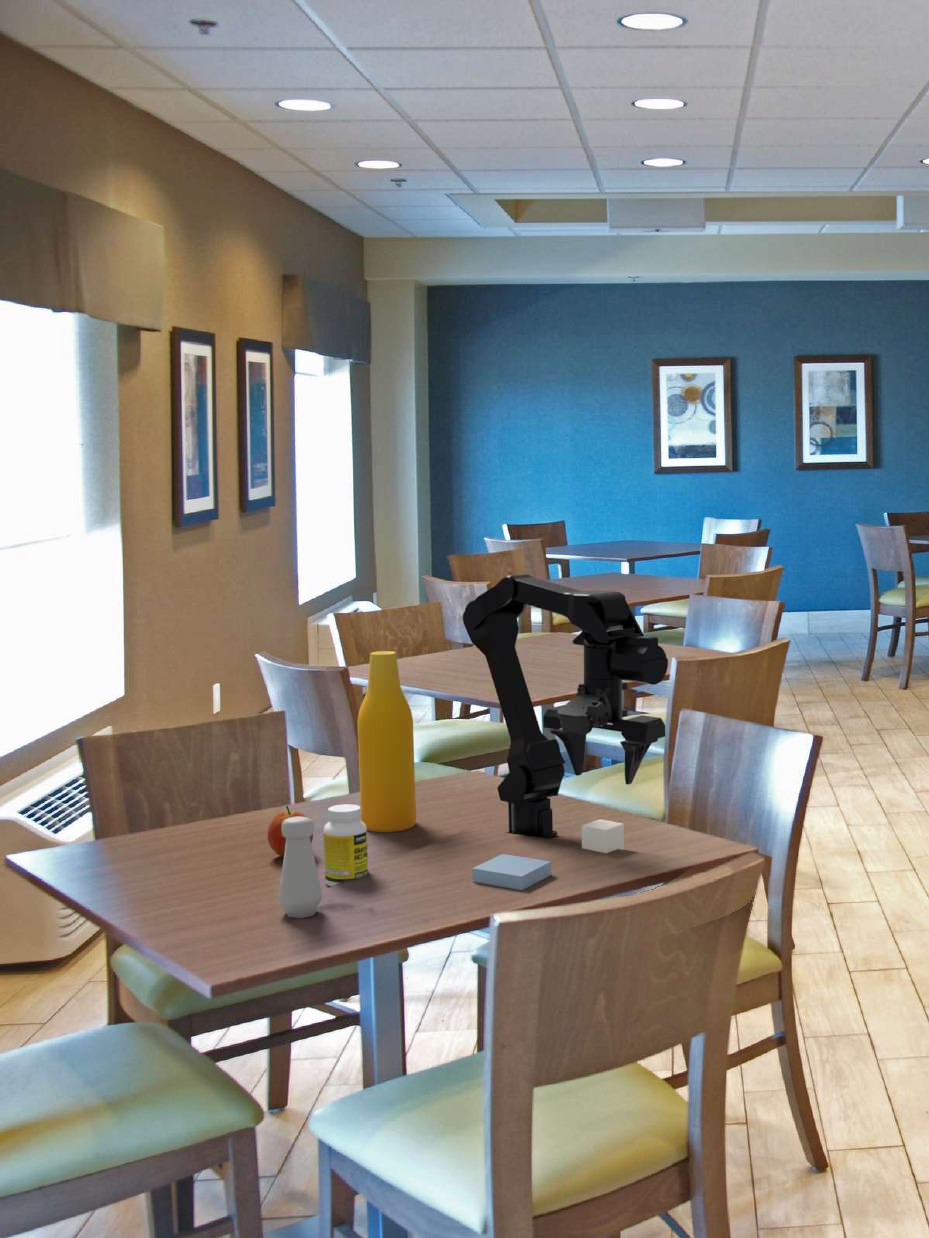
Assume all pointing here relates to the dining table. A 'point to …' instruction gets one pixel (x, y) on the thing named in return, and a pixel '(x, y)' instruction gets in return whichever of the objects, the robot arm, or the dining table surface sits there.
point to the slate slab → (511, 871)
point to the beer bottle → (386, 750)
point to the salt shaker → (299, 870)
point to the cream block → (603, 836)
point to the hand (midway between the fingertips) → (603, 779)
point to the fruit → (280, 831)
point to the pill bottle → (345, 845)
